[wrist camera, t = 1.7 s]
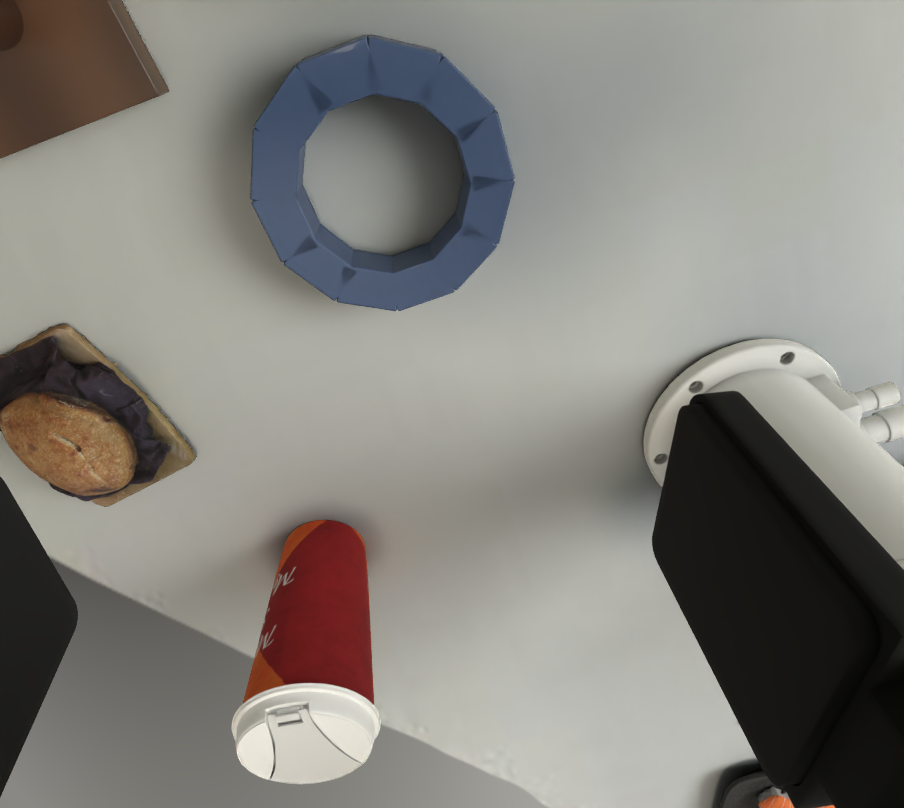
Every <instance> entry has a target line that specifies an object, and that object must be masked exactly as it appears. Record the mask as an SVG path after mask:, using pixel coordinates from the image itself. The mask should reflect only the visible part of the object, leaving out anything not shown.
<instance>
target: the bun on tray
mask: <svg viewBox="0 0 904 808" xmlns="http://www.w3.org/2000/svg"><path fill="white" fill-rule="evenodd" d="M160 410H161V409H159V408H158V407H157V406H156V405H155V404H154V403H153V404H152V403H151V401H150V399H149V398H148V397H147V394H144V393H143V392H142V391H141V390H140V389H139V388H138V387H137V386H136V385H135V384H134V383H133V382H132V381H131V380H129V379H128V378H127V377H126V376H125V375H124V374H123V373H122V372H121V371H119V370H118V364H117V363H115V362H110V361H109V360H108V359H106V358H105V357H104V356H103V354H102V353H101V352H99V351H98V350H96V349H95V347H93V346H92V345H91V343H90V342H89V341H88V340H87V339H86V338H85V336H81V335H80V334H79V333H78V332H77V331H75V330H74V329H73V328H72V327H71V326H69V325H68V324H61V325H57V326H55V327H49V328H48V330H47V331H45V332H42V334H38V336H36V337H35V338H33V339H32V340H28V341H26V342H24V343H22V344H20V345H18V346H17V349H16V350H14V351H12V352H11V353H10V354H8V355H1V356H0V431H2V433H3V436H4V438H5V440H6V441H7V443H8V445H9V446H10V448H11V449H12V450H13V451H14V452H15V454H16V455H17V456H18V457H19V459H20V460H21V461H22V462H23V463H24V464H25V465H26V466H27V467H28V468H29V469H30V470H31V471H33V472H34V473H35V474H37V475H38V476H39V477H41V478H42V479H44V480H46V481H47V482H48V483H49V484H50V486H51V487H52V488H53V489H55V490H57V491H59V492H61V493H64V494H66V495H69V496H72V497H77V498H79V499H81V500H83V501H90V500H92V501H93V502H94V503H96V504H98V505H101V506H104V507H106V506H110V505H112V504H114V503H116V502H118V501H120V500H122V499H124V498H126V497H128V496H130V495H132V494H134V493H136V492H138V491H140V490H142V489H144V488H146V487H148V486H149V485H151V484H153V483H155V482H157V481H159V480H161V479H163V478H165V477H167V476H169V475H171V474H173V473H174V472H176V471H178V470H180V469H182V468H184V467H186V466H188V465H190V464H191V463H192V462H193V461H194V460H195V459H196V457H197V456H196V455H195V454H194V452H193V450H192V448H190V445H188V442H187V441H186V440H184V438H183V436H182V435H181V434H180V433H179V432H178V430H176V429H175V428H174V425H172V424H171V423H170V422H169V421H168V419H169V418H166V419H165V416H164V415H163V413H161V412H160Z"/></svg>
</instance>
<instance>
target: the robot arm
mask: <svg viewBox="0 0 904 808" xmlns="http://www.w3.org/2000/svg"><path fill="white" fill-rule="evenodd" d="M900 399H901V397H900V392H899V390H898V388H897V387H896V386H895V384H894V383H891V382H887V383H884V384H880V385H877V386H874V387H871V388H868V389H865V391H861V392H858V393H855V394H854V393H853V392H851V391H844V390H842V385H841V382H840V380H839V378H838V375H837V373H836V371H835V370H834V369H833V368H832V366H831V365H830V364H829V363H828V362H827V361H826V360H825V359H824V358H823V357H821V356H820V355H819V354H817V353H816V352H815V351H814V350H812V349H810V348H808V347H806V346H804V345H802V344H800V343H797V342H793V341H788V340H784V339H757V340H750V341H744V342H740V343H737V344H734V345H731V346H728V347H724V348H722V349H720V350H718V351H716V352H714V353H712V354H710V355H707V356H705V357H703V358H702V359H700V360H699V361H698V362H696V363H695V364H693V365H692V366H690V367H689V368H687V369H686V370H685V371H684V372H683V373H681V374H680V375H679V376H678V377H677V378H676V379H675V380H674V381H673V382H672V383H671V384H670V385H669V386H668V387H667V389H666V390H665V391H664V392H663V394H662V395H661V396H660V397H659V399H658V400H657V402H656V404H655V406H654V408H653V409H652V411H651V413H650V415H649V418H648V421H647V424H646V427H645V432H644V440H643V447H644V455H645V459H646V462H647V464H648V467H649V469H650V471H651V473H652V474H653V476H654V477H655V479H656V481H657V482H658V484H659V485H660V486H661V487H662V492H661V497H660V502H659V507H658V511H657V516H656V521H655V526H654V531H653V536H652V546H653V551H654V555H655V558H656V560H657V563H658V565H659V566H660V568H661V570H662V572H663V574H664V576H665V578H666V580H667V582H668V584H669V586H670V588H671V590H672V592H673V594H674V596H675V598H676V600H677V602H678V604H679V606H680V608H681V610H682V612H683V614H684V616H685V618H686V620H687V622H688V624H689V626H690V628H691V630H692V632H693V633H694V635H695V637H696V639H697V641H698V643H699V645H700V647H701V649H702V651H703V653H704V655H705V657H706V659H707V661H708V663H709V665H710V667H711V669H712V671H713V673H714V675H715V677H716V679H717V681H718V683H719V685H720V687H721V689H722V691H723V693H724V695H725V697H726V699H727V700H728V702H729V704H730V706H731V708H732V710H733V712H734V714H735V716H736V718H737V720H738V722H739V724H740V726H741V728H742V730H743V732H744V734H745V736H746V738H747V740H748V742H749V744H750V746H751V748H752V750H753V752H754V754H755V756H756V758H757V760H758V762H759V764H760V766H761V767H762V769H763V771H764V773H765V774H766V776H767V777H768V779H769V780H770V781H771V782H772V783H773V784H775V785H776V786H783V787H784V788H785V790H786V792H787V794H788V796H789V798H790V800H791V802H792V804H793V806H794V808H818V807H824V806H831V805H834V806H835V808H904V467H903V466H901V465H900V464H899V463H898V462H897V461H896V460H895V459H894V458H893V457H891V456H890V455H889V454H888V453H887V452H886V451H885V450H884V449H883V448H881V447H880V446H879V445H878V444H877V443H880V442H890V441H893V440H897V439H900V438H903V437H904V405H899V406H896V407H893V408H889V409H886V410H883V411H880V412H876V413H873V414H872V416H869V417H866V418H862V419H861V416H862V413H863V412H866V411H870V410H873V409H874V410H877V409H880V408H883V407H886V406H890V405H893V404H896V403H899V402H900ZM77 619H78V611H77V605H76V603H75V601H74V599H73V597H72V596H71V594H70V592H69V590H68V589H67V587H66V585H65V584H64V582H63V580H62V579H61V577H60V575H59V574H58V572H57V570H56V569H55V567H54V565H53V563H52V562H51V560H50V558H49V556H48V555H47V553H46V551H45V550H44V548H43V546H42V545H41V543H40V541H39V539H38V538H37V536H36V534H35V533H34V531H33V529H32V528H31V526H30V524H29V522H28V521H27V519H26V517H25V516H24V514H23V512H22V511H21V509H20V507H19V505H18V504H17V502H16V500H15V499H14V497H13V495H12V494H11V492H10V490H9V488H8V487H7V485H6V483H5V482H4V480H3V479H2V478H1V477H0V796H1V794H2V792H3V790H4V787H5V785H6V783H7V781H8V779H9V776H10V774H11V772H12V770H13V767H14V765H15V763H16V761H17V758H18V756H19V754H20V752H21V749H22V747H23V745H24V743H25V740H26V738H27V736H28V734H29V731H30V729H31V727H32V725H33V723H34V720H35V718H36V716H37V714H38V711H39V709H40V707H41V705H42V702H43V700H44V698H45V696H46V694H47V691H48V689H49V687H50V684H51V682H52V680H53V678H54V676H55V673H56V671H57V669H58V667H59V664H60V662H61V660H62V658H63V656H64V653H65V651H66V648H67V647H68V644H69V642H70V640H71V638H72V635H73V633H74V631H75V628H76V625H77Z"/></svg>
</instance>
